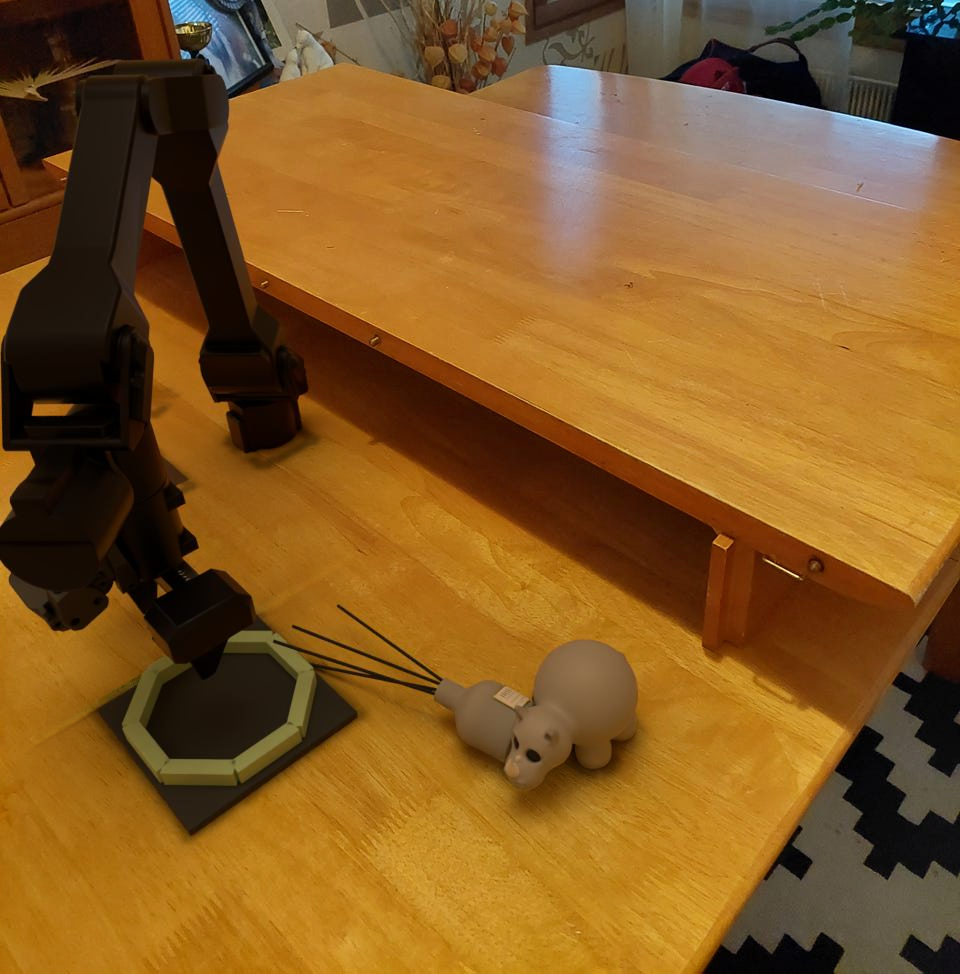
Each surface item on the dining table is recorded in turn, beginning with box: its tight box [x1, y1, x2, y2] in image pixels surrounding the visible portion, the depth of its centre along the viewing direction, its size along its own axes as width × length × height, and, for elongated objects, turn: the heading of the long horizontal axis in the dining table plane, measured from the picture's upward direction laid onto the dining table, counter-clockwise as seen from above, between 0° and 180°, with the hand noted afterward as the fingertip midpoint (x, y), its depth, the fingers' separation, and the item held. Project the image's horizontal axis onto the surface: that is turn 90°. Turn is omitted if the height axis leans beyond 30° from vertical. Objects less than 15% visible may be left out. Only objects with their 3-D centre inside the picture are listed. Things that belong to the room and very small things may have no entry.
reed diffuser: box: [273, 603, 536, 764], centre depth 69 cm, size 10×7×20 cm
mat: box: [97, 614, 359, 836], centre depth 70 cm, size 14×14×1 cm
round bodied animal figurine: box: [503, 638, 639, 790], centre depth 63 cm, size 7×12×8 cm, turn 136°
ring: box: [122, 630, 317, 786], centre depth 69 cm, size 13×13×1 cm
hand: (177, 642), depth 71 cm, fingers open, 9 cm apart
